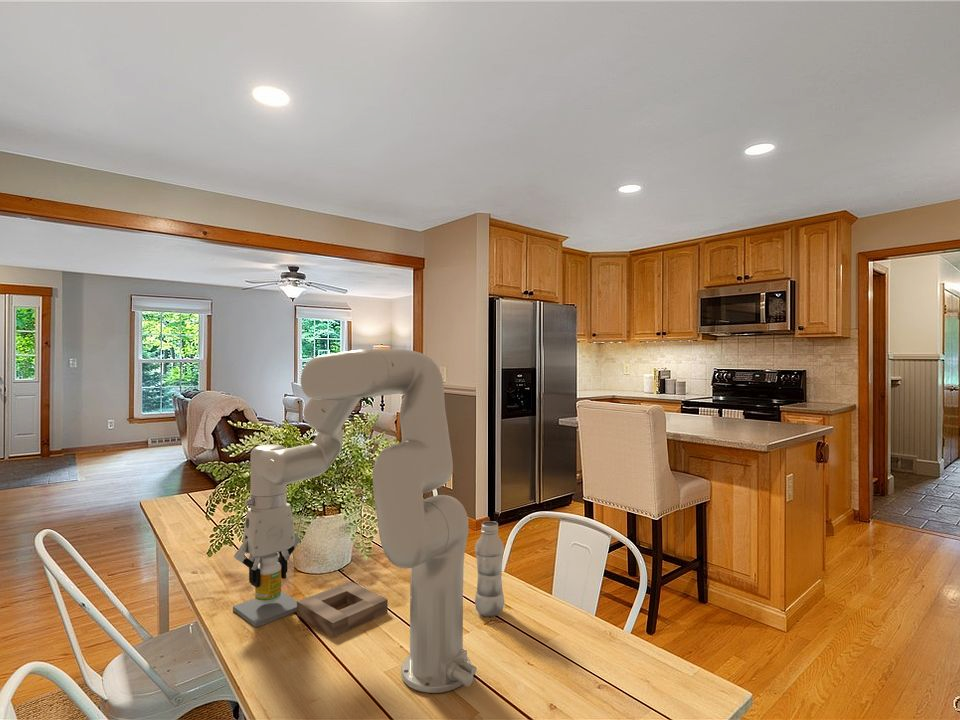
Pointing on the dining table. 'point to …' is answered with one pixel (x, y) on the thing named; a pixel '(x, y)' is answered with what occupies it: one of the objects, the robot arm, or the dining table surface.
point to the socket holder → (336, 622)
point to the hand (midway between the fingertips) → (268, 580)
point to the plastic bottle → (489, 571)
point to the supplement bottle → (269, 579)
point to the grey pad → (266, 610)
